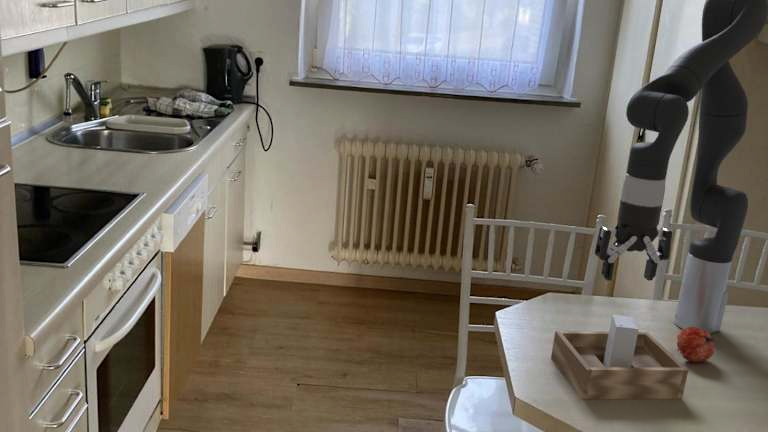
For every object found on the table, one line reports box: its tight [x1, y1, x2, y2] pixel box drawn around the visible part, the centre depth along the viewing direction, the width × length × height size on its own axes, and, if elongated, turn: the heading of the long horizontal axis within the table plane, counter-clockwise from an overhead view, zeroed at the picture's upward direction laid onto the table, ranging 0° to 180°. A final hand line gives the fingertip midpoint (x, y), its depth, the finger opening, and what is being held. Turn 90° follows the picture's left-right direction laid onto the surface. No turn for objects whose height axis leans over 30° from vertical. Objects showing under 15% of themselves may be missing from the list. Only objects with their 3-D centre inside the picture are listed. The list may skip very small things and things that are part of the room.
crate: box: [550, 330, 689, 400], centre depth 151 cm, size 20×16×6 cm
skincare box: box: [603, 314, 640, 367], centre depth 150 cm, size 6×4×12 cm
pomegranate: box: [676, 326, 716, 363], centre depth 162 cm, size 7×7×10 cm
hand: (627, 279), depth 150 cm, fingers open, 8 cm apart
